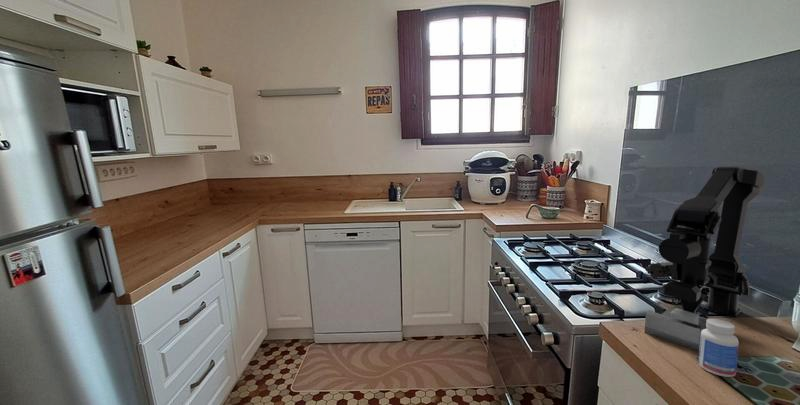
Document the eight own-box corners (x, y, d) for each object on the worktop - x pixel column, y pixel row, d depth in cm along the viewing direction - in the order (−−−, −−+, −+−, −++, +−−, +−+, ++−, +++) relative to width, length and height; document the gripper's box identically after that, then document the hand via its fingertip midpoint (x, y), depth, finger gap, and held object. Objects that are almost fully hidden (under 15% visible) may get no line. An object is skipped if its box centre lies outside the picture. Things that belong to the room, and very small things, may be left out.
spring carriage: (661, 315, 84) (661, 304, 83) (698, 326, 78) (699, 314, 77) (655, 319, 82) (656, 308, 81) (693, 331, 76) (693, 319, 75)
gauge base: (668, 313, 89) (670, 295, 88) (718, 327, 80) (720, 308, 80) (644, 332, 79) (645, 312, 78) (698, 350, 71) (700, 329, 70)
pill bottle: (744, 379, 61) (748, 331, 60) (710, 376, 62) (715, 328, 61) (721, 362, 67) (725, 317, 66) (691, 359, 68) (695, 315, 67)
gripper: (665, 244, 90) (662, 297, 92) (638, 255, 80) (635, 315, 82) (720, 252, 81) (715, 310, 83) (698, 266, 71) (692, 333, 72)
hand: (688, 316), depth 80 cm, fingers closed
